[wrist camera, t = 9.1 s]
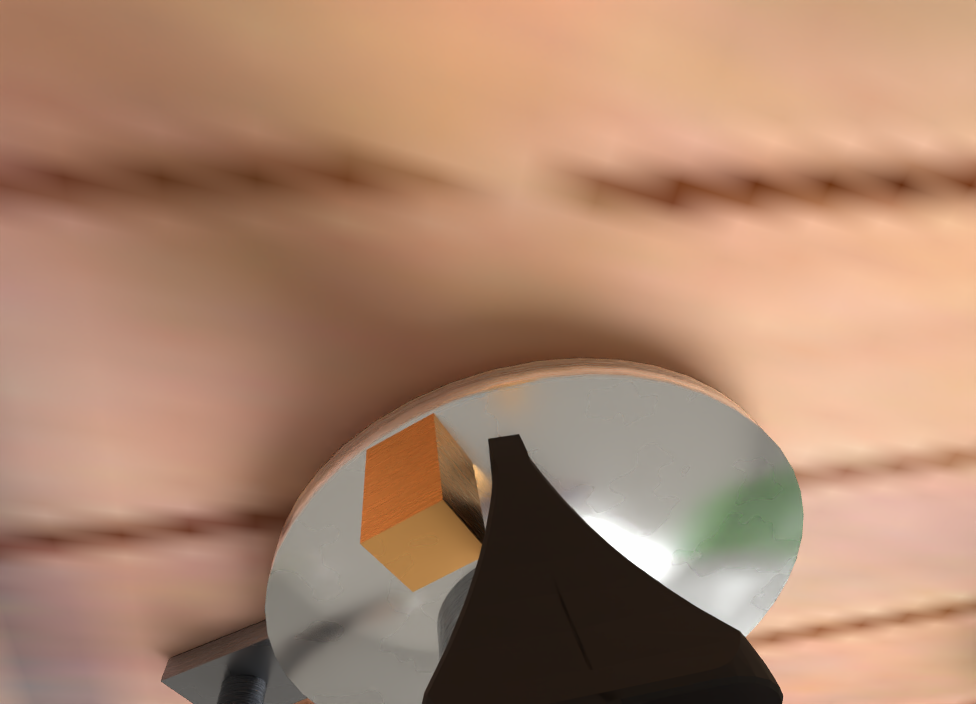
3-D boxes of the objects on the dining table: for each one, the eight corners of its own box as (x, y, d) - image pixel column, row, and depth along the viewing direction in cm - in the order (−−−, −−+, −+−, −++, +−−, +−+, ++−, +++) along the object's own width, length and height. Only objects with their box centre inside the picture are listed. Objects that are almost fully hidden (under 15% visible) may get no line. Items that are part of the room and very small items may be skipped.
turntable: (789, 628, 23) (861, 731, 20) (406, 762, 24) (407, 886, 20) (770, 261, 14) (898, 332, 10) (144, 496, 14) (63, 639, 11)
